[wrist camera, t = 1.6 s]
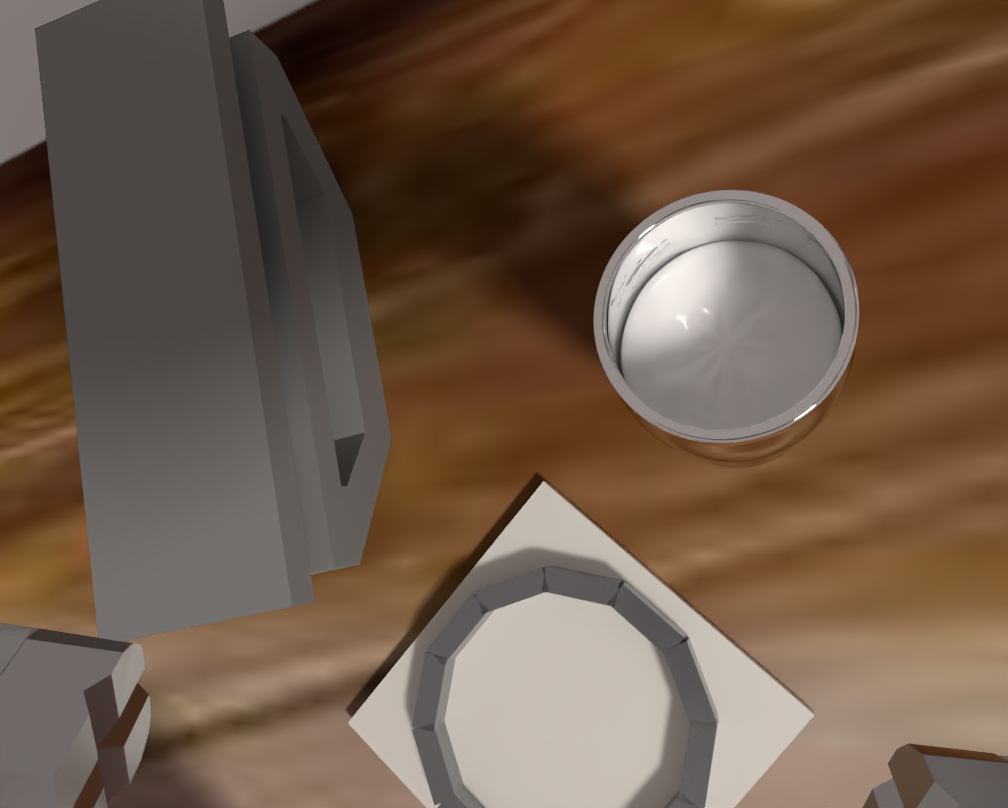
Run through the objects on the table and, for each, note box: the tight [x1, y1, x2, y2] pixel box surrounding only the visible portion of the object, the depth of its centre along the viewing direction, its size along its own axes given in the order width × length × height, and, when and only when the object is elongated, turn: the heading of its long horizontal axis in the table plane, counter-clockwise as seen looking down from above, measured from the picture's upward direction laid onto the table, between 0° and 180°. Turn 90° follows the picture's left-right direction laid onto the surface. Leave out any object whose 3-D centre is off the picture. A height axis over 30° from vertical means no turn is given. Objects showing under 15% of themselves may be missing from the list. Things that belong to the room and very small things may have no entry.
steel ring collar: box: [412, 565, 719, 808], centre depth 35 cm, size 12×12×1 cm
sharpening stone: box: [35, 0, 392, 642], centre depth 37 cm, size 25×8×11 cm, turn 12°
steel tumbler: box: [593, 190, 860, 468], centre depth 29 cm, size 7×7×15 cm
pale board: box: [348, 481, 815, 808], centre depth 36 cm, size 14×14×1 cm
